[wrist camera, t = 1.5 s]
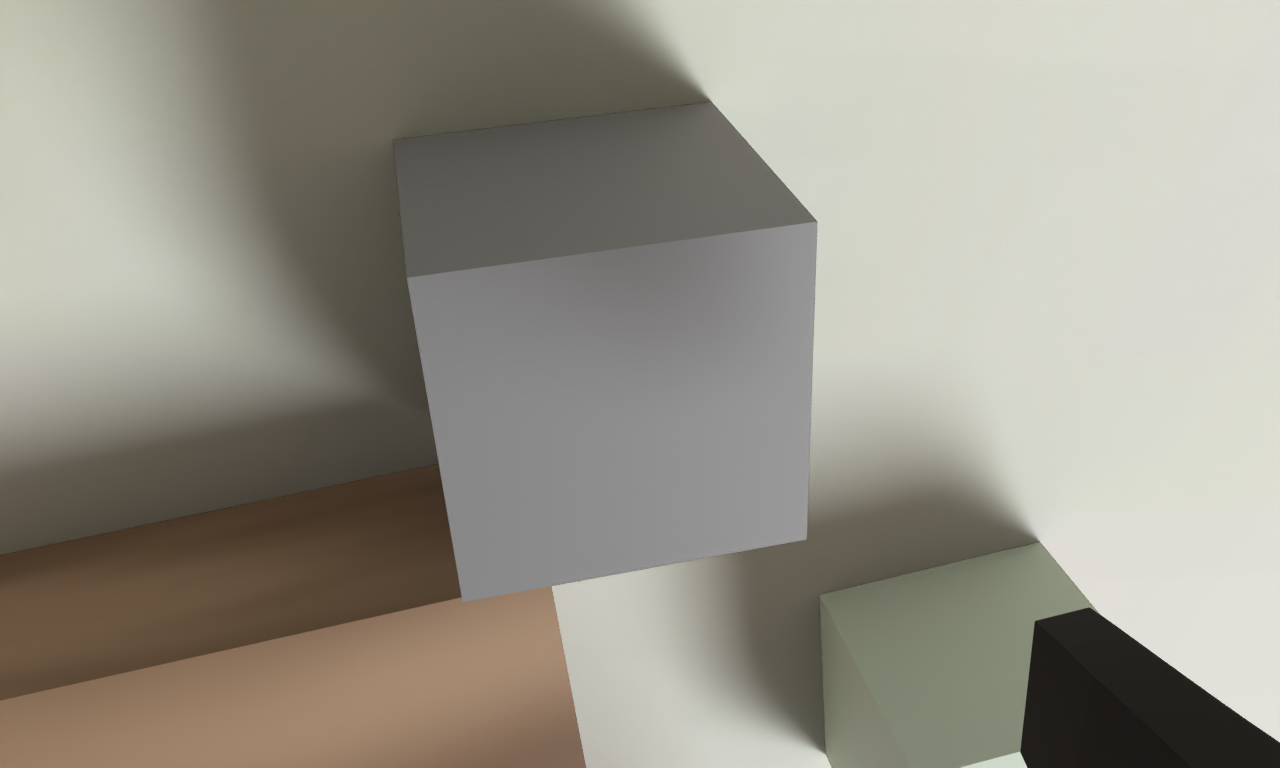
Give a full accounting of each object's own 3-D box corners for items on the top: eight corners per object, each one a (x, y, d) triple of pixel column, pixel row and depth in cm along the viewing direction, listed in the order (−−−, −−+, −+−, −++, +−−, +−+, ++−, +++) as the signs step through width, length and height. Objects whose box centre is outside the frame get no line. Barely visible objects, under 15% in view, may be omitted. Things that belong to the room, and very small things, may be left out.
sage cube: (1023, 699, 28) (1144, 879, 23) (824, 751, 27) (913, 945, 23) (1037, 539, 25) (1177, 709, 21) (818, 592, 24) (917, 778, 20)
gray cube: (714, 369, 21) (807, 539, 17) (439, 412, 20) (462, 601, 16) (709, 100, 18) (817, 221, 14) (392, 138, 18) (406, 277, 13)
